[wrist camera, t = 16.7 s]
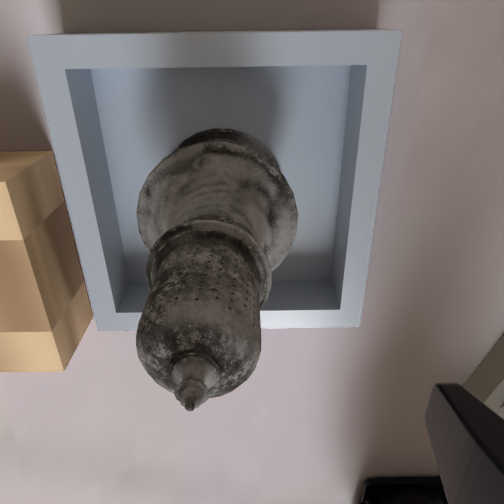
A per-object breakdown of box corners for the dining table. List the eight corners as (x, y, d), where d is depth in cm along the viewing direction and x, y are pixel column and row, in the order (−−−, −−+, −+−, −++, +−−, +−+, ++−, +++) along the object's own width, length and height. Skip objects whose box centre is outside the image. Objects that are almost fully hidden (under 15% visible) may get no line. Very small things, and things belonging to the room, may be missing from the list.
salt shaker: (233, 89, 16) (209, 204, 6) (315, 201, 19) (403, 428, 8) (127, 177, 18) (-43, 389, 8) (213, 269, 20) (177, 533, 10)
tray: (377, 28, 16) (402, 30, 13) (346, 290, 22) (360, 327, 19) (63, 33, 16) (25, 35, 13) (116, 293, 22) (97, 330, 19)
